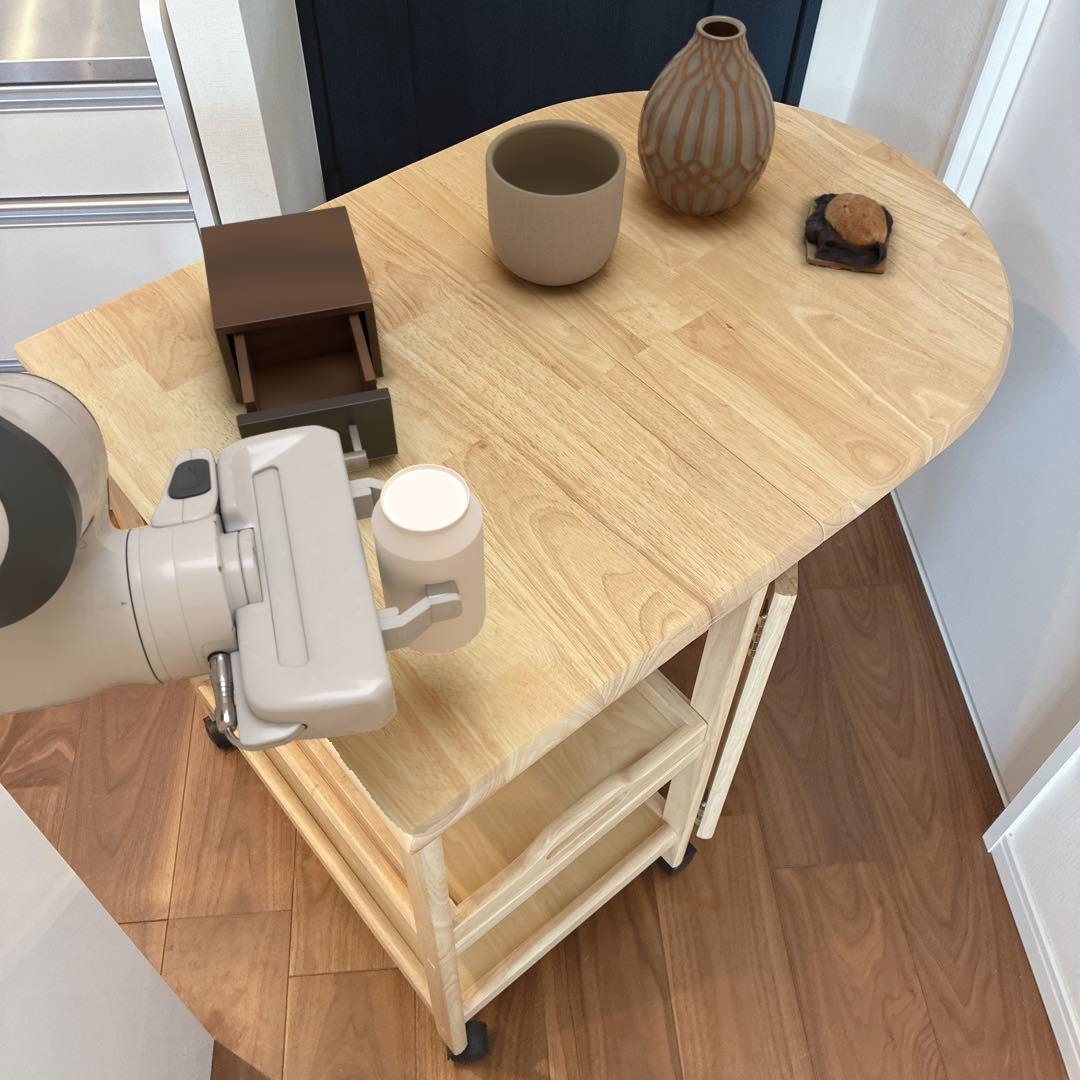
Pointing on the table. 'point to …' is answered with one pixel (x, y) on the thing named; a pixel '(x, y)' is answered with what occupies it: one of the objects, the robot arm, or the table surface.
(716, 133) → the vase
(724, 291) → the table surface
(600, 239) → the planter
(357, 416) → the drawer
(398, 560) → the beverage can
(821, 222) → the bread roll
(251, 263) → the cabinet
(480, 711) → the table surface
